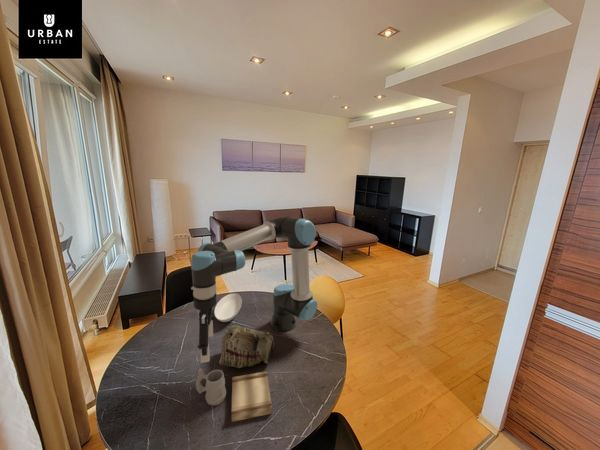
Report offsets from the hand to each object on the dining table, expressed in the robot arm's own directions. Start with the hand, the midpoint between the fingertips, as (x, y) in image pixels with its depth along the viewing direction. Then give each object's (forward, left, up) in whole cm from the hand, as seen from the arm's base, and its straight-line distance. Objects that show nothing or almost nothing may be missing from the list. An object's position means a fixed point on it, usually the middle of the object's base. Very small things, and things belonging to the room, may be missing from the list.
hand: (207, 348), depth 90 cm
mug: (0, 0, -22) cm, 22 cm away
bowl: (-5, -57, -22) cm, 62 cm away
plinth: (-15, +4, -22) cm, 27 cm away
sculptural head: (-14, -17, -22) cm, 31 cm away
